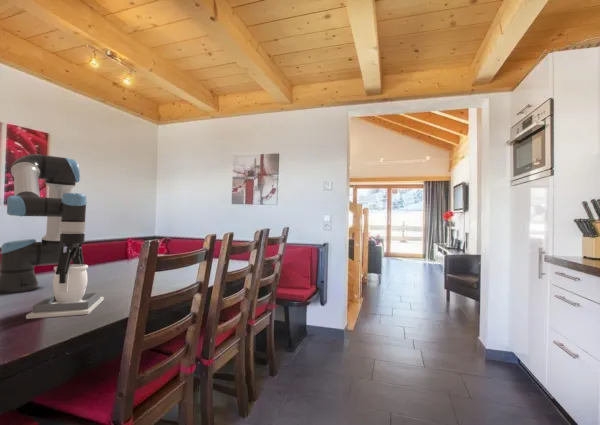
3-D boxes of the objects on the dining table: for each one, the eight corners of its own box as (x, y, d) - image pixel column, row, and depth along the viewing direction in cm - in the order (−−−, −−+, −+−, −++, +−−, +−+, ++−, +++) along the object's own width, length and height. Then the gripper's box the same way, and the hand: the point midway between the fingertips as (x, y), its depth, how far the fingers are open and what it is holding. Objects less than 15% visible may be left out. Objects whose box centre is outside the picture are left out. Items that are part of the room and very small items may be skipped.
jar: (45, 309, 106) (47, 268, 107) (60, 301, 116) (62, 264, 117) (78, 308, 109) (80, 267, 109) (91, 300, 119) (92, 263, 119)
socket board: (51, 302, 118) (52, 293, 118) (103, 299, 125) (104, 290, 125) (26, 318, 100) (26, 307, 100) (88, 314, 106) (88, 303, 106)
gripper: (73, 230, 123) (70, 280, 123) (45, 234, 100) (42, 296, 100) (94, 231, 126) (91, 280, 125) (72, 235, 103) (69, 295, 102)
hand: (70, 287), depth 113 cm, fingers open, 13 cm apart
